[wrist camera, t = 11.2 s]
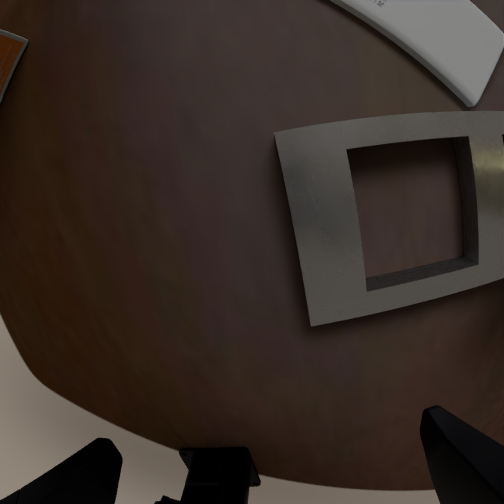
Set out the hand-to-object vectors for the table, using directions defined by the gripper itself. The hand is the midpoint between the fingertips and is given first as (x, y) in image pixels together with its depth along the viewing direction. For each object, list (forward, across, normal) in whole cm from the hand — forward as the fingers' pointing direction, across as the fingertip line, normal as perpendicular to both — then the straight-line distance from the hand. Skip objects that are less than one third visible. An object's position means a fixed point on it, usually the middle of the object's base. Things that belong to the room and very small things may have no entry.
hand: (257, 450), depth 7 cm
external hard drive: (+14, -14, -16) cm, 26 cm away
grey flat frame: (+13, -15, -3) cm, 20 cm away
